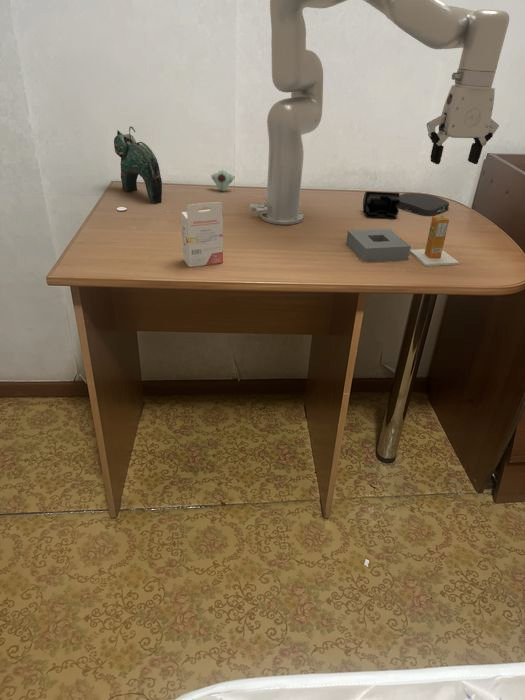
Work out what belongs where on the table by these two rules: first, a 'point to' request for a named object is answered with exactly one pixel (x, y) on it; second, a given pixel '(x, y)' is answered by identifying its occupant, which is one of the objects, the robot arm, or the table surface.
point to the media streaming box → (422, 204)
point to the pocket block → (377, 245)
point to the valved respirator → (222, 179)
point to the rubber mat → (427, 261)
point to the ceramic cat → (138, 166)
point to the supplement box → (436, 236)
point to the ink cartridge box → (202, 234)
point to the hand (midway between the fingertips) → (453, 162)
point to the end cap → (381, 205)
